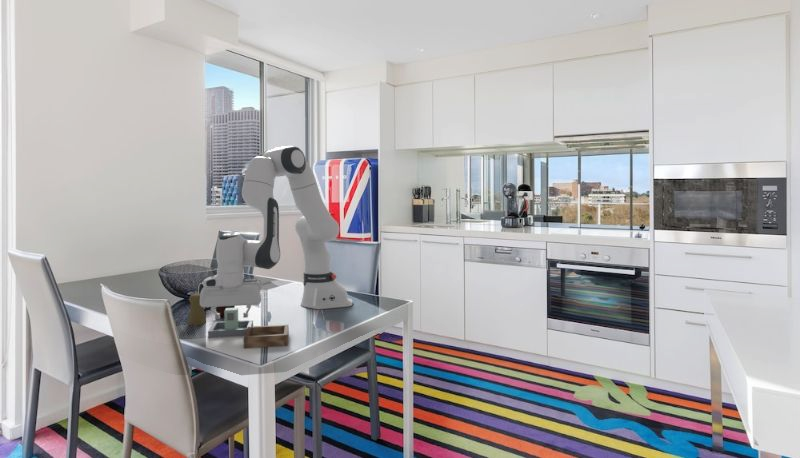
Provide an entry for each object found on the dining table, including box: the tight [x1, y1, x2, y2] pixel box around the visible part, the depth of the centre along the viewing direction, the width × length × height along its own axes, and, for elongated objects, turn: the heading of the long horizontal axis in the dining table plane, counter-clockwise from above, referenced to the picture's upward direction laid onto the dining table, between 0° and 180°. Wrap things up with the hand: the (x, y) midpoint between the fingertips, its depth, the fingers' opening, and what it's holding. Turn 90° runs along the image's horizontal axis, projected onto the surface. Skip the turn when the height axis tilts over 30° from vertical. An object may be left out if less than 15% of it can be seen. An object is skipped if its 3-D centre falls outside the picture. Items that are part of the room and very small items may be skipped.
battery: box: [197, 282, 211, 312], centre depth 187 cm, size 7×4×11 cm, turn 147°
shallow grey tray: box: [207, 319, 254, 339], centre depth 159 cm, size 13×11×2 cm
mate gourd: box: [215, 306, 236, 319], centre depth 176 cm, size 8×8×15 cm
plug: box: [224, 307, 240, 329], centre depth 158 cm, size 4×5×8 cm
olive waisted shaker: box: [188, 293, 207, 327], centre depth 168 cm, size 6×6×11 cm
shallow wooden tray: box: [243, 324, 290, 349], centre depth 149 cm, size 13×11×4 cm
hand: (231, 317), depth 158 cm, fingers open, 8 cm apart
